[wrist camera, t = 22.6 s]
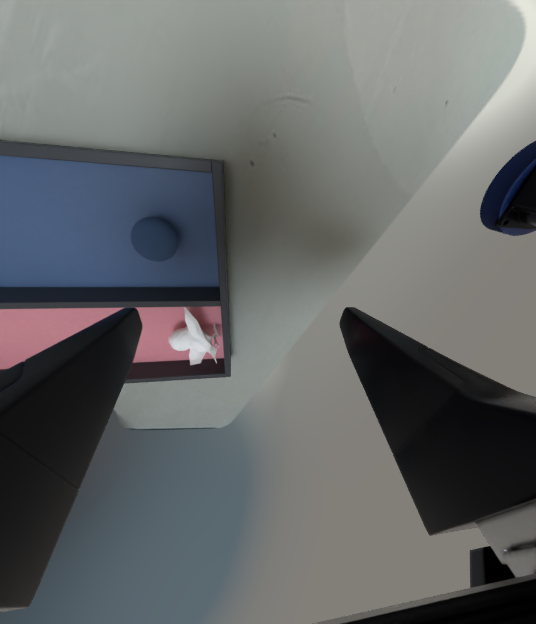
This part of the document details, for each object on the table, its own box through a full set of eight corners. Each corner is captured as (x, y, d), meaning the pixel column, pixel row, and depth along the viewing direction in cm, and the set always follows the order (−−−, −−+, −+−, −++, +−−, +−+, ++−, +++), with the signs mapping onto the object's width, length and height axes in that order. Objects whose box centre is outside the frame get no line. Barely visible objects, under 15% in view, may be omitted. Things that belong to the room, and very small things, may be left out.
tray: (223, 160, 15) (221, 161, 12) (230, 356, 26) (230, 376, 24) (-476, 96, 10) (-714, 76, 7) (-88, 371, 22) (-130, 399, 19)
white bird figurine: (160, 300, 19) (168, 333, 16) (211, 292, 21) (228, 320, 18) (171, 360, 23) (179, 396, 20) (212, 349, 26) (226, 380, 22)
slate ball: (183, 217, 15) (145, 226, 13) (189, 258, 17) (157, 272, 14) (153, 210, 16) (113, 217, 14) (162, 249, 18) (128, 261, 15)
